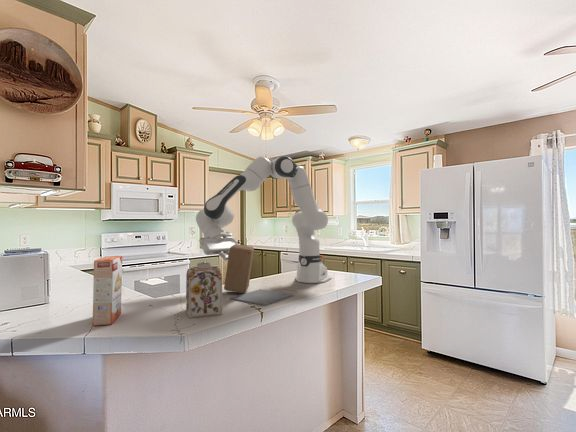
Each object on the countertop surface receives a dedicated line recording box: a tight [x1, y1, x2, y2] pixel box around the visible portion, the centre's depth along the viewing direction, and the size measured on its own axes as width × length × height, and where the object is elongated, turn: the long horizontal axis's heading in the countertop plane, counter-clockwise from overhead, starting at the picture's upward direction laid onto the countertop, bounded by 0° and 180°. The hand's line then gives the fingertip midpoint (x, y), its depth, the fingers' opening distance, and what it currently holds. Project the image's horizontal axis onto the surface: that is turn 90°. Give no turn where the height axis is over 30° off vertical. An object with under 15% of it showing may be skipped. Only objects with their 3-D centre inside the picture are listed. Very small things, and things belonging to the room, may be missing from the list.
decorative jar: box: [185, 261, 223, 319], centre depth 115 cm, size 12×12×18 cm
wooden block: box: [223, 244, 255, 294], centre depth 145 cm, size 10×10×20 cm
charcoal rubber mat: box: [229, 288, 294, 307], centre depth 137 cm, size 20×19×1 cm
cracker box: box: [92, 255, 123, 327], centre depth 107 cm, size 14×6×21 cm, turn 17°
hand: (228, 259), depth 149 cm, fingers closed
